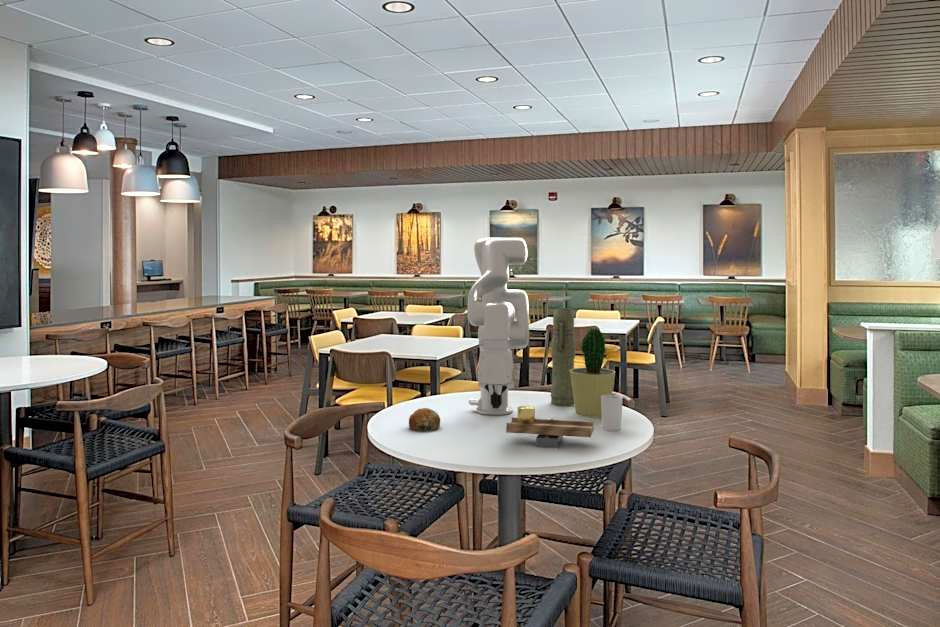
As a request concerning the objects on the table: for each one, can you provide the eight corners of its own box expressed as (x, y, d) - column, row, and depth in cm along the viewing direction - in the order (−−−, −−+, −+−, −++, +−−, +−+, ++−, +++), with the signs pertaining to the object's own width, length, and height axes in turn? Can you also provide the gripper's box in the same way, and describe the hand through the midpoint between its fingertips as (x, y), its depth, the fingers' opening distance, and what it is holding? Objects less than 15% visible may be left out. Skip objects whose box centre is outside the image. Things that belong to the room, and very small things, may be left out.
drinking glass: (609, 431, 218) (610, 399, 218) (596, 427, 224) (596, 395, 224) (626, 429, 221) (627, 397, 221) (613, 425, 227) (613, 394, 227)
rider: (516, 426, 206) (516, 408, 205) (519, 422, 210) (519, 405, 210) (533, 426, 204) (533, 409, 204) (536, 423, 209) (536, 406, 209)
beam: (506, 432, 204) (506, 422, 204) (512, 425, 213) (512, 416, 213) (590, 437, 198) (590, 427, 198) (593, 430, 207) (593, 420, 207)
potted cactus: (566, 408, 252) (567, 324, 250) (610, 409, 252) (611, 324, 249) (571, 418, 237) (572, 328, 234) (618, 418, 236) (619, 328, 234)
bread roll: (442, 438, 226) (446, 413, 228) (431, 431, 216) (435, 405, 219) (413, 435, 229) (418, 411, 232) (401, 428, 220) (406, 403, 222)
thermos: (575, 400, 267) (576, 307, 264) (574, 407, 255) (575, 309, 253) (551, 399, 268) (552, 307, 266) (549, 406, 257) (550, 309, 254)
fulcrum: (536, 446, 201) (536, 436, 201) (543, 436, 212) (543, 426, 212) (557, 448, 199) (557, 437, 199) (563, 437, 211) (563, 427, 211)
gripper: (468, 345, 206) (468, 408, 207) (518, 347, 202) (518, 411, 203) (474, 343, 213) (474, 404, 214) (523, 344, 209) (523, 406, 210)
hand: (496, 407), depth 209 cm, fingers closed
